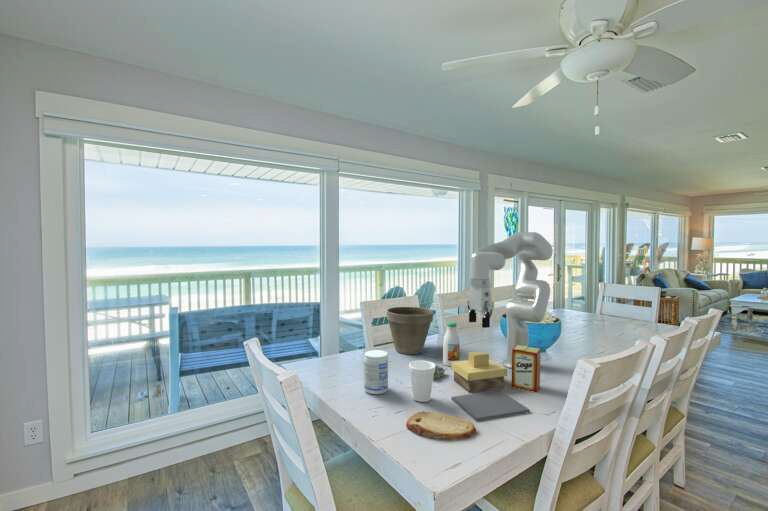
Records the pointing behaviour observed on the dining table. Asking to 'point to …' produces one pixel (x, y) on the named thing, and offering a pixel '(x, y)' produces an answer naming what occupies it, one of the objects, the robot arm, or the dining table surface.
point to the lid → (478, 367)
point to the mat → (489, 405)
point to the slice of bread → (440, 426)
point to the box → (479, 383)
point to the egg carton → (438, 372)
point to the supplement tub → (376, 372)
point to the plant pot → (409, 328)
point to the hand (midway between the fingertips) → (478, 324)
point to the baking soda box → (526, 368)
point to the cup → (422, 379)
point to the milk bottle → (451, 345)
